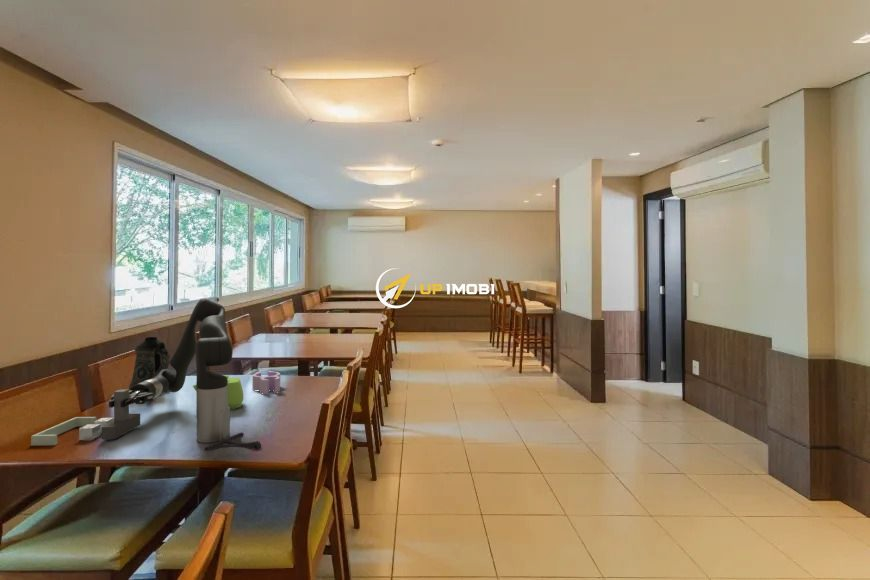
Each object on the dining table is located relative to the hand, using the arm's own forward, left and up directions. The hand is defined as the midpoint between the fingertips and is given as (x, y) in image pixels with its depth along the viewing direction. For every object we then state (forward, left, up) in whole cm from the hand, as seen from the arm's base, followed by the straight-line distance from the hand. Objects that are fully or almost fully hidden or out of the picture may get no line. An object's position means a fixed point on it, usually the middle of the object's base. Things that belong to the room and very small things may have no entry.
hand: (116, 404), depth 147 cm
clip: (-30, -63, -11) cm, 70 cm away
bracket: (-43, +9, -12) cm, 46 cm away
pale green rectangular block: (+17, -3, -11) cm, 21 cm away
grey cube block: (+8, +1, -11) cm, 14 cm away
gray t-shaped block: (0, -3, -10) cm, 11 cm away
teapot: (-20, -33, -11) cm, 40 cm away
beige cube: (+8, -6, -11) cm, 15 cm away
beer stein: (+20, -60, -11) cm, 64 cm away
